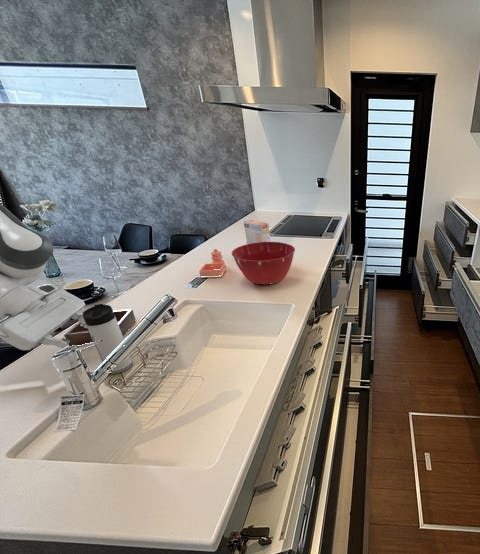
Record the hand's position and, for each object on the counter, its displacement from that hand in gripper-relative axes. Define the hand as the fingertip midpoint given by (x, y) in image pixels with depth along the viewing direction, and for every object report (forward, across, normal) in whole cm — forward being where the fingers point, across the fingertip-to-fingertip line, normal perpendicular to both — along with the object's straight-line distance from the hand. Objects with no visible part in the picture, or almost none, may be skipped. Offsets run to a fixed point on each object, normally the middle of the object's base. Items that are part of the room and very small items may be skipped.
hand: (78, 334), depth 83 cm
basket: (+4, +21, +14) cm, 25 cm away
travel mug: (+14, +1, +5) cm, 14 cm away
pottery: (+20, +74, -2) cm, 76 cm away
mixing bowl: (+39, +60, -21) cm, 74 cm away
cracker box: (+34, +92, -16) cm, 99 cm away
